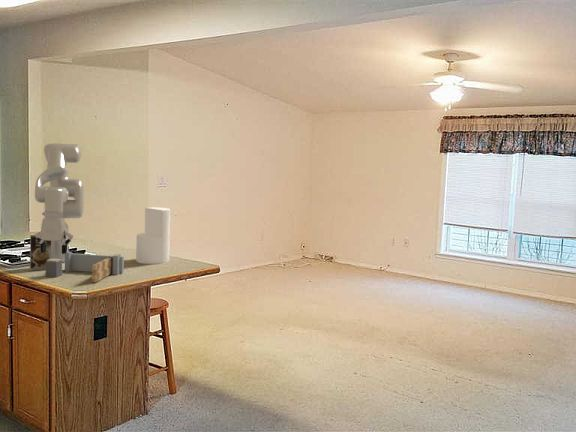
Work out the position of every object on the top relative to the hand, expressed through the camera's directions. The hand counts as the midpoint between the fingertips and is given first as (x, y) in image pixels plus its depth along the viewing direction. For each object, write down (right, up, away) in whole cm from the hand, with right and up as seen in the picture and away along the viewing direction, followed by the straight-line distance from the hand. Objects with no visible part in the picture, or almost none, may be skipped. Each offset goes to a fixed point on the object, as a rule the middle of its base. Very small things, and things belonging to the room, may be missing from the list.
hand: (53, 252), depth 250 cm
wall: (+13, -10, +13) cm, 21 cm away
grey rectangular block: (-1, -11, +2) cm, 11 cm away
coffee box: (-13, -9, +15) cm, 21 cm away
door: (+22, -11, +2) cm, 24 cm away
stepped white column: (+33, -8, +47) cm, 58 cm away
